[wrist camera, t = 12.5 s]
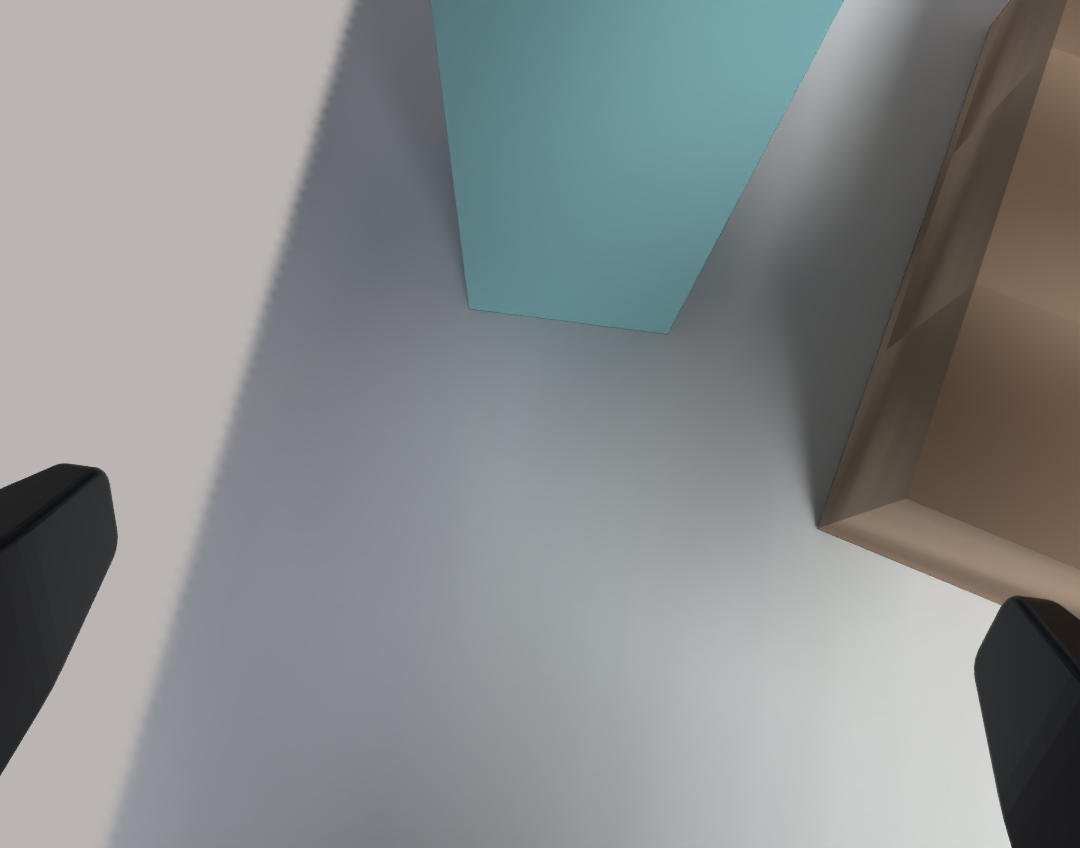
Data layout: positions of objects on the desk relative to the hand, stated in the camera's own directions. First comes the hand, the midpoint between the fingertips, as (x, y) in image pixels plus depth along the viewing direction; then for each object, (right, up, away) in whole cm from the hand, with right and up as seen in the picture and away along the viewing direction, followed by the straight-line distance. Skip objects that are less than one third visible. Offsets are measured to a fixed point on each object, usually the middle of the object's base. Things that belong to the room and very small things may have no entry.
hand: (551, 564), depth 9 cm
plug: (+1, +5, +9) cm, 11 cm away
